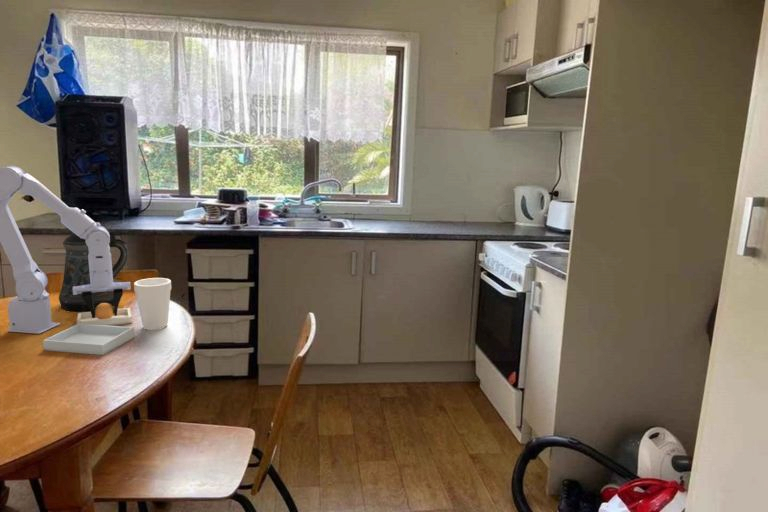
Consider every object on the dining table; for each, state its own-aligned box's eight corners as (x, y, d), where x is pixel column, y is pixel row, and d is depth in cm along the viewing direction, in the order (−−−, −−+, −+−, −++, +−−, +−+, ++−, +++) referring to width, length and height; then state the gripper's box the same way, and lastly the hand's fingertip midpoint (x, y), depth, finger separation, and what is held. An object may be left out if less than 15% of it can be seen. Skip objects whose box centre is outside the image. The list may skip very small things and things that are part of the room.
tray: (43, 350, 132) (42, 340, 131) (79, 332, 145) (78, 323, 144) (104, 355, 130) (103, 345, 130) (134, 336, 143) (134, 327, 142)
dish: (77, 329, 147) (76, 322, 146) (78, 319, 155) (78, 313, 154) (131, 323, 153) (131, 316, 152) (130, 314, 161) (130, 307, 160)
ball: (91, 322, 151) (89, 305, 150) (102, 316, 156) (101, 300, 155) (107, 323, 151) (106, 306, 150) (118, 317, 156) (117, 301, 155)
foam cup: (160, 333, 145) (157, 287, 143) (129, 330, 147) (126, 284, 145) (179, 322, 155) (177, 279, 152) (151, 319, 156) (148, 276, 154)
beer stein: (47, 308, 164) (38, 227, 159) (101, 292, 182) (95, 220, 177) (85, 315, 158) (77, 232, 153) (138, 299, 176) (132, 224, 170)
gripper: (70, 275, 144) (75, 323, 147) (129, 270, 150) (133, 316, 153) (71, 269, 150) (76, 315, 153) (128, 265, 156) (131, 309, 159)
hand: (104, 315), depth 153 cm, fingers closed on ball, 5 cm apart
